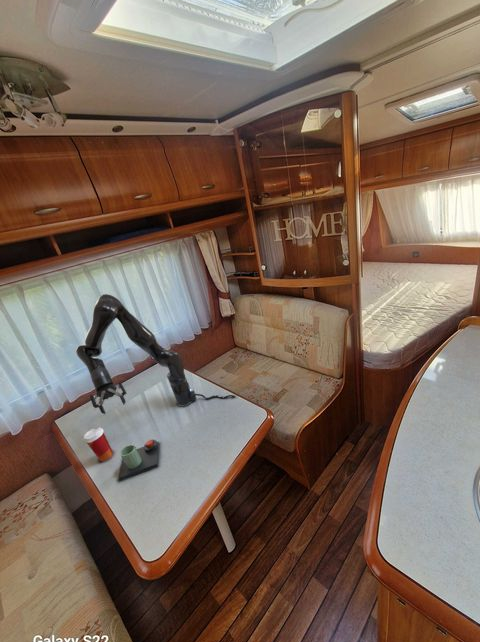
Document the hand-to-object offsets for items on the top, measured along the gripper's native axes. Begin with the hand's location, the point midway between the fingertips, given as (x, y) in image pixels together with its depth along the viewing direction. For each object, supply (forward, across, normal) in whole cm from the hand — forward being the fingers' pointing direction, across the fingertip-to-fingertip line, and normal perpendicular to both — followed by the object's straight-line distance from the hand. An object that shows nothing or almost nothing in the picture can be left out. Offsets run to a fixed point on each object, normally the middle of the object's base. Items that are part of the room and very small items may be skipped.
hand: (114, 408), depth 125 cm
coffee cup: (+15, +12, -17) cm, 26 cm away
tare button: (+22, -7, -5) cm, 24 cm away
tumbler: (+26, +2, -3) cm, 26 cm away
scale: (+26, -1, -5) cm, 27 cm away
